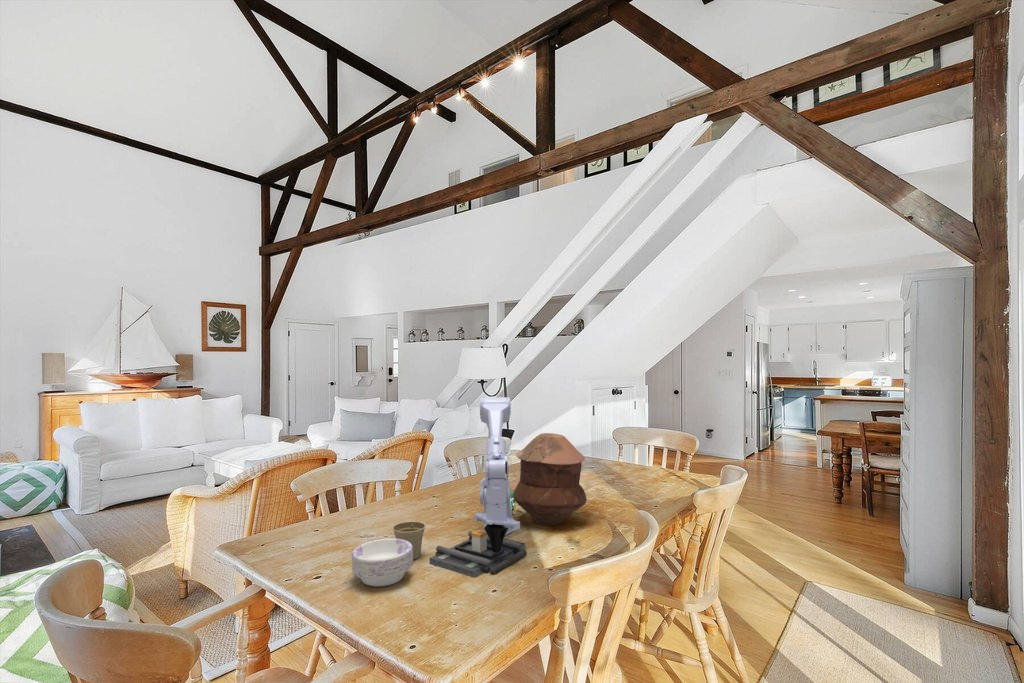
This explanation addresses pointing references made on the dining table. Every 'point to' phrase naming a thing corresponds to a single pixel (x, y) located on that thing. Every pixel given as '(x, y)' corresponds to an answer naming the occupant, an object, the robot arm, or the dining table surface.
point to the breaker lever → (479, 541)
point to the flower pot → (411, 534)
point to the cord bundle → (480, 560)
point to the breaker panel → (466, 547)
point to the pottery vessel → (550, 479)
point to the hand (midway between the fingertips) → (496, 551)
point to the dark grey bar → (505, 543)
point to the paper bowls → (382, 561)
